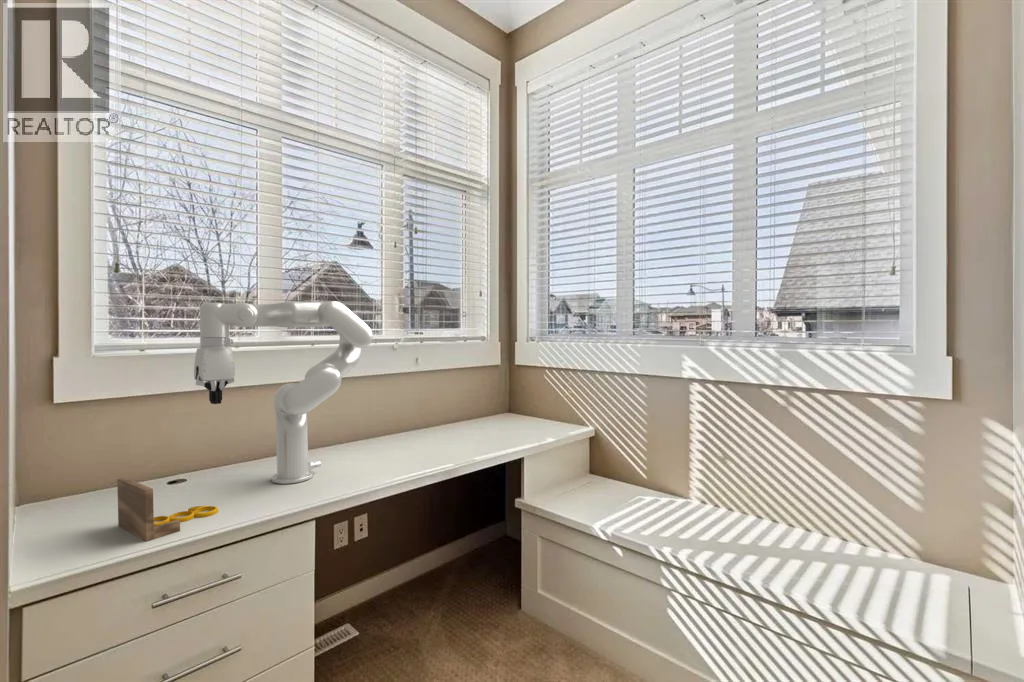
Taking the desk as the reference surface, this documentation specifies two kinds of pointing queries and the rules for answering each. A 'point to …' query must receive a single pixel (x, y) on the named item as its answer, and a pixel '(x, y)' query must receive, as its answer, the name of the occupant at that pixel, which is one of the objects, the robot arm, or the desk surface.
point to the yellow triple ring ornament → (191, 514)
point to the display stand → (140, 511)
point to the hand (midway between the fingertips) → (215, 403)
